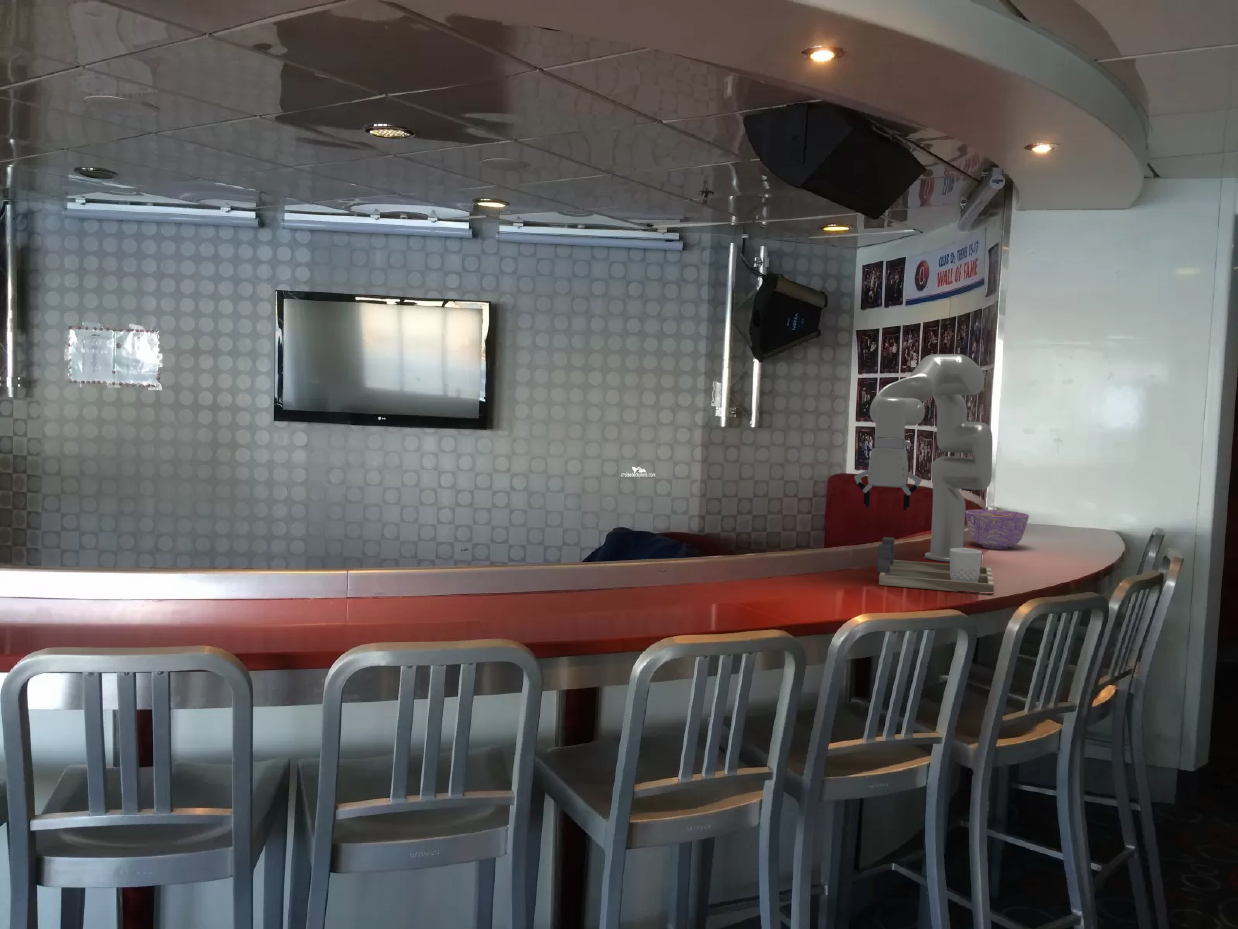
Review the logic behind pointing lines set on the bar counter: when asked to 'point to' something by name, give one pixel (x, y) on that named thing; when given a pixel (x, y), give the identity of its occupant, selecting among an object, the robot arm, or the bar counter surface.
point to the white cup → (965, 564)
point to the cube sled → (923, 565)
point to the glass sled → (925, 577)
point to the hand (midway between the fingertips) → (886, 508)
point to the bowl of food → (996, 527)
